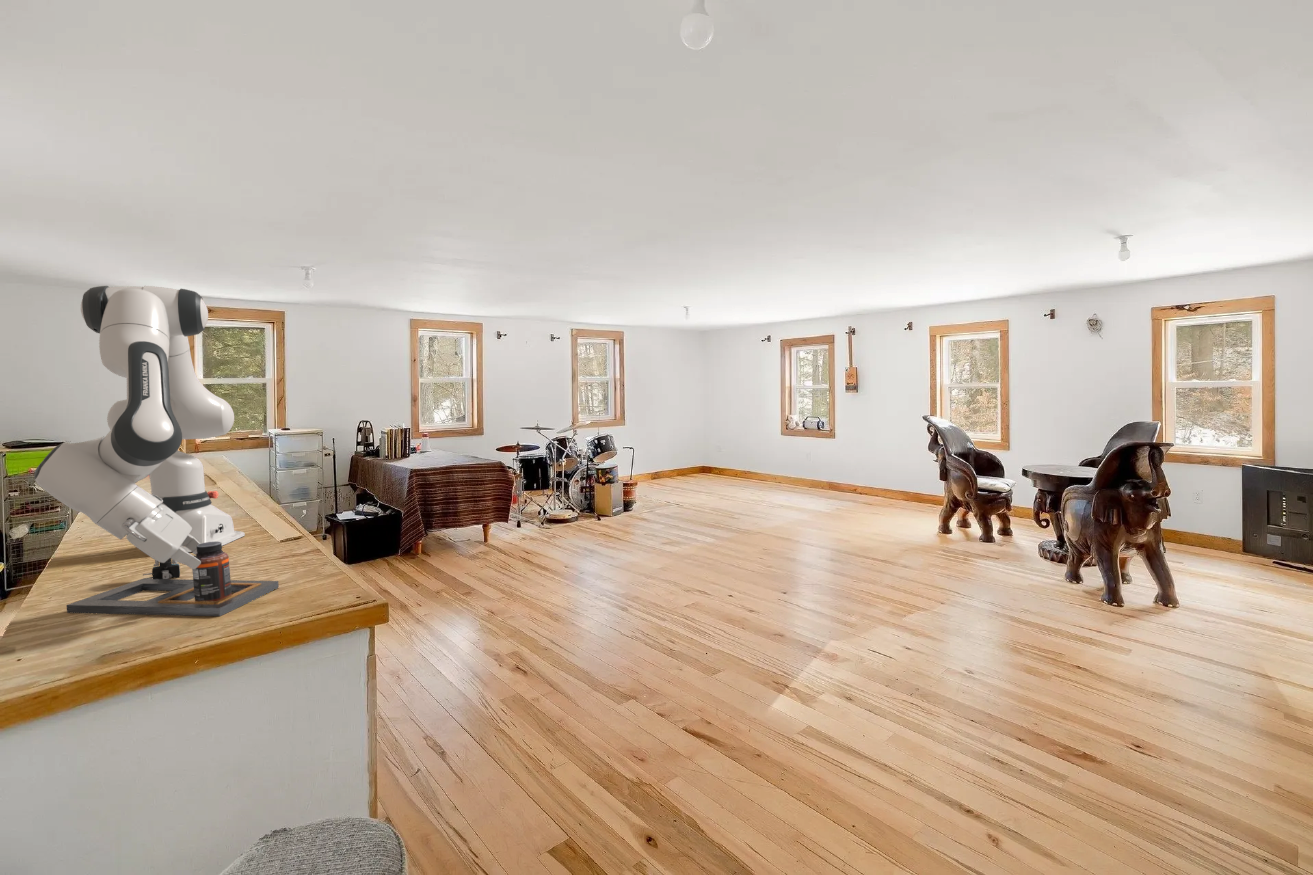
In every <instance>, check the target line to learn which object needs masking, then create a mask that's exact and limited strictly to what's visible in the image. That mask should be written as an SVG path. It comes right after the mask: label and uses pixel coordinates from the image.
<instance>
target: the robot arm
mask: <svg viewBox="0 0 1313 875" xmlns="http://www.w3.org/2000/svg"><path fill="white" fill-rule="evenodd" d="M80 312H81V317H82V318H83V320H84V322H85V324H86V325H85V326H87V328H88V329H90V330H91V331H93V332H95V333H96V334H99V340H98V341H99V343H98V344H99V346H98V347H99V355H100V361H101V364H102V365H103V366H104V367H105V369H107V370H109V371H110V372H112V373H113V374H114V375H116V376H119V377H122V378H126V399H122V400H117V401H116V402H115V403H114V404H112V405H111V407H110V408H109V411H108V413H107V418H106V419H107V420H106V422H107V426H108V427H109V431H108V433H107V434H106V435H102V436H101V437H98V438H95V439H90V440H86V441H80V442H72V443H68V442H63V443H60V444H58V445H57V446H55V447H54V448H52V450H51V451H50V452H49V453H48V454H47V455H46V456H45V457H44V458H43V460H42V461H41V462H40V463H39V465H38V466H37V467H36V469H35V471H34V474H33V477H34V481H35V482H36V483H37V485H38V486H39V487H40V488H42V489H43V490H44V491H45V492H46V493H47V494H49V495H50V496H52V497H53V498H54V499H56V500H57V501H58V502H60V503H62V504H64V505H65V506H67V507H68V508H69V509H71V510H73V511H77V512H79V513H81V514H84V515H85V516H87V517H88V518H89V519H90V520H91V521H92V522H93V524H95V525H96V526H98V527H100V528H101V529H103V530H104V531H106V532H108V533H110V534H111V535H112V536H114V537H116V538H117V539H118V540H122V539H124V537H126V540H127V541H128V542H130V544H131V545H132V546H134V547H135V548H137V549H138V550H140V551H141V552H143V554H145V555H147V556H149V557H150V558H152V559H153V560H154V561H155V560H156V561H159V562H161V563H165V562H166V561H167V560H168V559H169V558H171V560H172V559H173V560H174V561H176V562H177V563H178V564H179V563H180V564H183V565H185V566H187V567H189V568H190V569H191V570H192V569H196V568H197V567H198V566H199V565H200V564H201V559H199V558H198V557H196V555H197V554H198V553H197V545H199V544H202V543H206V542H221V543H222V547H223V546H225V545H228V544H229V543H231V542H234V541H236V540H238V539H241V538H243V537H245V535H246V534H245V532H244V531H241V530H240V531H239V530H235V526H234V521H233V518H232V516H231V515H230V514H228V513H227V512H225V511H224V510H222V509H219V508H218V507H217V506H215V505H213V504H212V503H213V502H212V499H214V500H215V499H218V497H219V496H220V495H219V492H218V491H217V490H213V491H211V490H209V491H206V485H205V472H204V470H205V469H204V465H203V462H202V461H201V460H200V459H199V458H198V457H196V456H194V455H191V454H189V453H186V452H183V451H180V450H179V449H180V447H181V445H182V441H183V440H201V439H203V440H204V439H211V438H215V437H216V438H217V437H221V436H225V435H227V434H228V433H229V432H230V430H231V429H232V428H233V425H234V422H235V413H234V410H233V408H232V406H231V405H230V403H229V402H228V401H227V400H225V399H224V398H222V397H220V396H217V395H216V394H214V393H212V392H211V391H210V390H208V388H206V387H205V385H203V383H202V382H201V381H200V380H199V378H198V375H197V374H196V371H195V367H194V364H193V360H192V354H191V348H190V347H191V346H190V342H189V337H192V336H196V335H199V334H201V333H202V332H204V331H205V329H206V326H207V323H208V320H209V310H208V306H207V305H206V303H205V301H204V299H203V296H201V295H200V294H199V293H198V292H197V291H194V290H190V289H185V288H180V289H177V288H169V287H162V286H153V285H144V286H129V285H128V286H127V285H125V286H111V287H109V286H108V285H101V286H99V285H98V286H94V287H90V288H89V289H88V290H86V291H85V292H84V293H83V295H82V300H81V302H80ZM148 476H149V482H150V489H151V493H150V492H148V491H146V490H145V489H144V488H142V487H140V486H139V485H137V484H136V483H138V482H140V481H141V480H142V481H143V480H144V479H146V478H147V477H148ZM191 552H192V554H193V555H192V554H191Z"/></svg>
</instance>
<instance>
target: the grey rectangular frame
mask: <svg viewBox="0 0 1313 875" xmlns="http://www.w3.org/2000/svg"><path fill="white" fill-rule="evenodd" d="M279 584H280V583H279V581H278V580H241V579H240V580H239V579H237V580H235V579H233V580H232V579H231V591H232V592H231V594H232V593H233V594H232V595H230V596H227V597H225V598H223V599H221V600H219V601H195V600H192V599H195V596H194V584H193V579H178V578H170V579H153V578H152V579H147V578H146V579H143V578H141V579H137V580H135V581H131V582H129V583H125V584H122V585H120V586H118V587H114V588H111V589H109V590H107V591H103V592H101V593H97V594H94V595H91V596H88V597H86V598H83V599H80V600H77V601H74V602H71V603H68V604H66V613H67V614H91V613H93V614H94V615H95V614H96V613H97V614H98V615H99V614H100V615H102V614H103V615H137V616H138V615H144V616H145V615H146V616H152V615H153V616H159V615H160V616H185V617H186V616H189V617H190V616H194V617H195V616H196V617H197V616H199V617H222V616H224V615H226V614H227V613H230V612H232V611H233V610H236V609H238V608H240V607H243V606H244V604H245V605H247V604H249V603H250V602H253V601H255V600H257V599H259V598H261V597H263V596H265V595H267V594H266V593H268V594H269V592H270V591H272V592H273V590H274V589H276V590H277V588H278V587H279ZM278 589H279V588H278ZM144 591H146V592H151V591H153V592H165V593H163V594H161V595H158V596H154V597H153V598H150V599H148V600H127V599H126V600H124V599H125V598H128V597H130V596H133V595H135V594H138V593H141V592H144ZM274 591H275V590H274ZM270 593H271V592H270ZM264 594H265V595H264ZM262 595H263V596H262ZM260 596H261V597H260ZM256 598H257V599H256ZM252 600H253V601H252ZM248 602H249V603H248Z"/></svg>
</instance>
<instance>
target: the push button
mask: <svg viewBox="0 0 1313 875" xmlns="http://www.w3.org/2000/svg"><path fill="white" fill-rule="evenodd" d="M147 575H151V576H149V577H143V578H142V579H178V578H180V576H181V569H180V564H179V563H178V562H176V561H174V560H173V559H171V558H169V559H168V560H167V561H166V562H165V563H161V562H159V561H156V560H154V563H153V567H152V570H151V572H149V573H143V574H142V576H147Z"/></svg>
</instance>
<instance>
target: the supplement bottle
mask: <svg viewBox="0 0 1313 875" xmlns="http://www.w3.org/2000/svg"><path fill="white" fill-rule="evenodd" d="M197 553H198V554H197V555H195V556H196V557H198V558H199V559H201V564H200V565H199V566H198V567H197V568H196V569H192V568H191V570H192V580H193V584H194V596H195V597H194V601H219V600H221V599H223V598H225V597H227V596H230V595H232V593H233V592H232V591H231V580H232V579H231V570H230V558H229V555H228V553H226V552H225V551H223V546H222V543H221V542H206V543H202V544H199V545H197Z"/></svg>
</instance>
